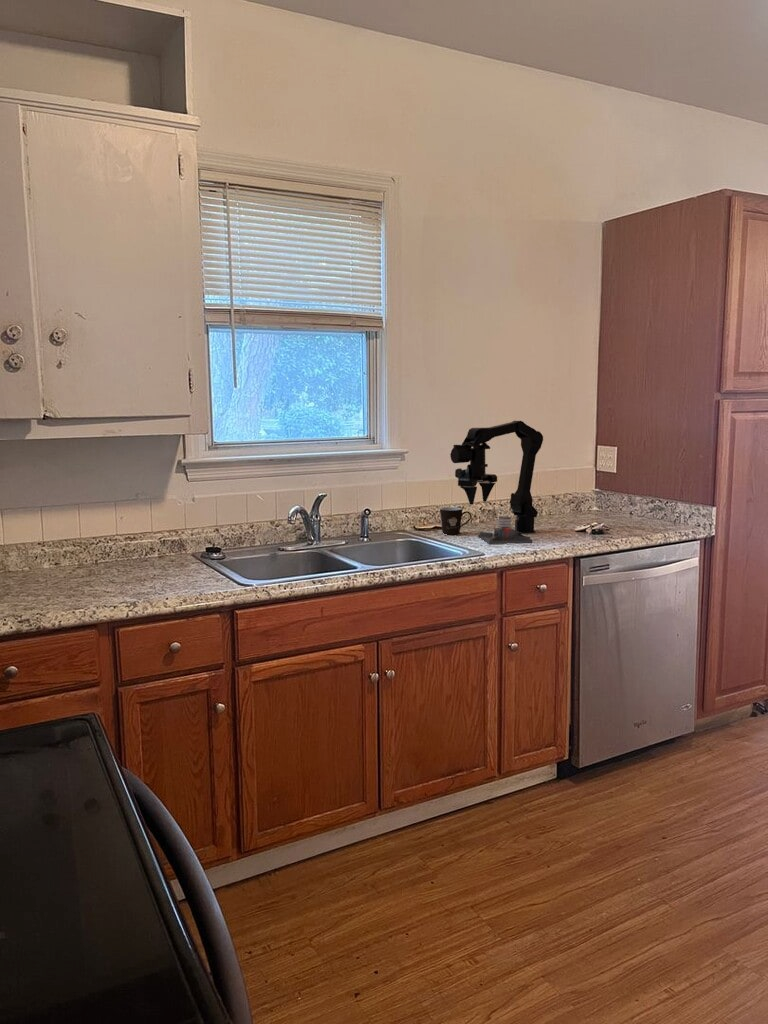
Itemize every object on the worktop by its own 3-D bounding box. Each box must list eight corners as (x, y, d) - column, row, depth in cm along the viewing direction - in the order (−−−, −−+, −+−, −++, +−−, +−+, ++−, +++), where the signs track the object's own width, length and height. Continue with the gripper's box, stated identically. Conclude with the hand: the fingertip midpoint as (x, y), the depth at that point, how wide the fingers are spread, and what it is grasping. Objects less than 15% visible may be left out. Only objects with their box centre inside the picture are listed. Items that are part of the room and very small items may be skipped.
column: (507, 534, 290) (507, 516, 289) (510, 536, 287) (510, 517, 286) (498, 535, 290) (498, 516, 289) (501, 536, 286) (501, 517, 285)
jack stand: (518, 535, 297) (518, 523, 297) (532, 542, 282) (532, 529, 281) (477, 536, 295) (477, 524, 294) (489, 544, 279) (489, 531, 279)
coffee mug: (437, 535, 299) (437, 509, 297) (443, 532, 307) (443, 506, 305) (467, 537, 295) (467, 510, 293) (472, 533, 303) (472, 507, 302)
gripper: (473, 458, 303) (473, 498, 305) (445, 463, 289) (446, 504, 291) (497, 459, 296) (498, 500, 298) (470, 464, 282) (471, 506, 284)
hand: (478, 502), depth 293 cm, fingers open, 9 cm apart
